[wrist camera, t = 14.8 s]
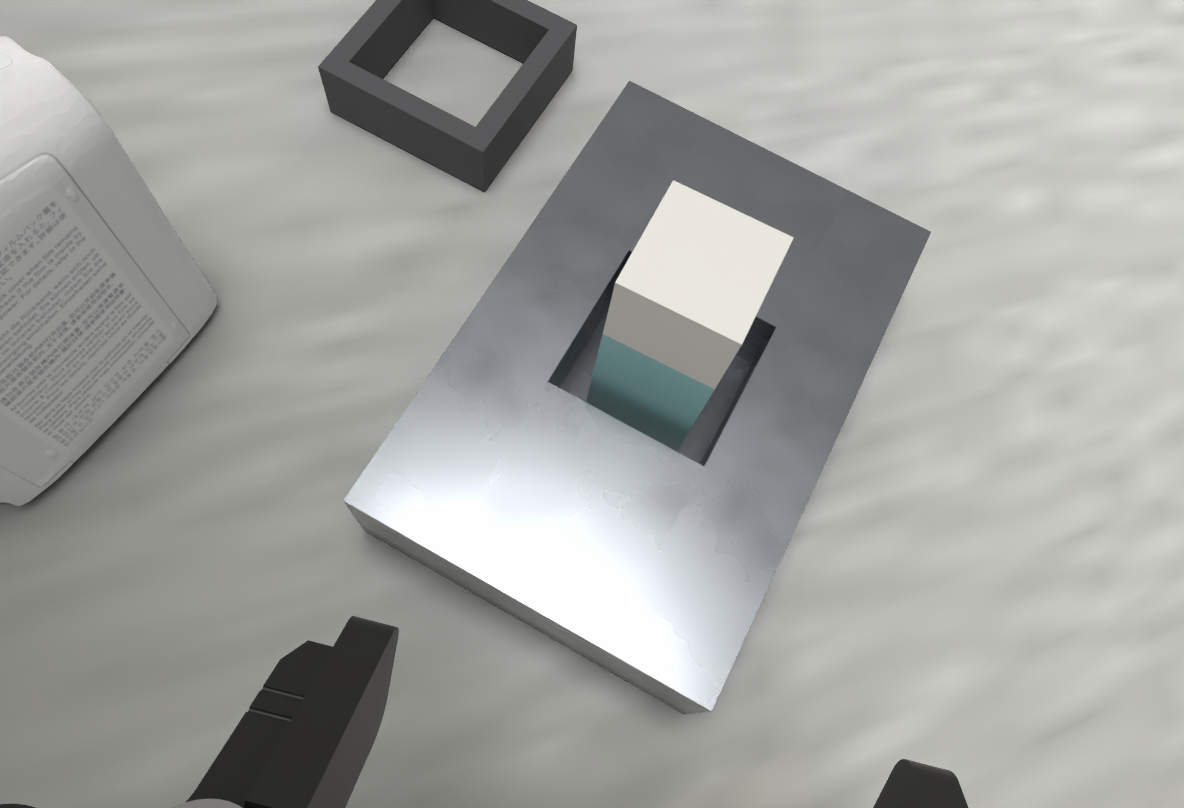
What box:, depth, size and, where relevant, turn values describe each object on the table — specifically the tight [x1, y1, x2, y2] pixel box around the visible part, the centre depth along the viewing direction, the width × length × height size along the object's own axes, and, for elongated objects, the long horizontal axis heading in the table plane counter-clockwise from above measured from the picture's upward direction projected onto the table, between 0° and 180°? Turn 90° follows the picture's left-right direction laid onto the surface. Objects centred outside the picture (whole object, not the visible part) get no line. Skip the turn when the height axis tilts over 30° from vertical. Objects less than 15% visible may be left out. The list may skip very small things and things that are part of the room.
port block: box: [343, 81, 931, 714], centre depth 30 cm, size 12×18×4 cm, turn 151°
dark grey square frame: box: [318, 0, 577, 192], centre depth 34 cm, size 7×7×2 cm
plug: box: [586, 180, 794, 452], centre depth 26 cm, size 4×4×9 cm
